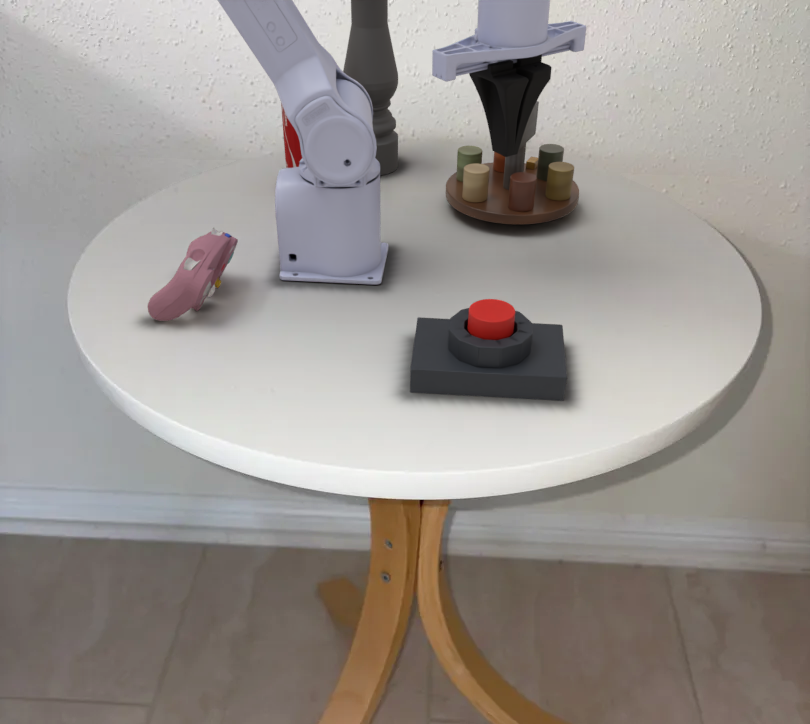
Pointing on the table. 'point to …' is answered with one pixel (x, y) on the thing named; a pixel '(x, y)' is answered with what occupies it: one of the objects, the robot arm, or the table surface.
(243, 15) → the robot arm
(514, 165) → the spice carousel
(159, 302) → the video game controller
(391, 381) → the table surface
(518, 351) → the timer block
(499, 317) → the timer button
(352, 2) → the candle holder
